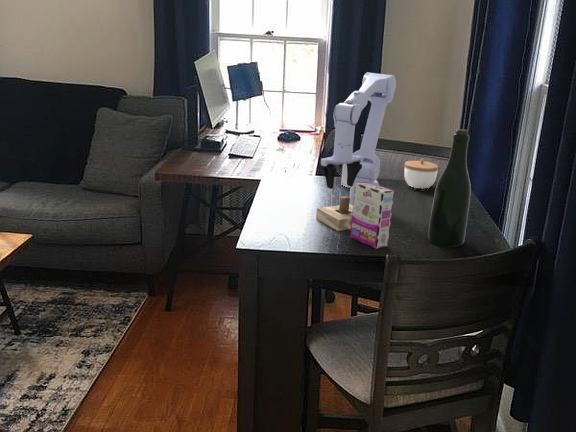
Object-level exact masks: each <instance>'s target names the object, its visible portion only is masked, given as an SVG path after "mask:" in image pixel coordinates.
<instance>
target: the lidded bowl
mask: <svg viewBox="0 0 576 432" xmlns="http://www.w3.org/2000/svg"><path fill="white" fill-rule="evenodd" d="M439 167H440V166H439V165H438V164H436V163H434V162H432V161H431V162H430V161H425V159H424V158H420V160H408V161H407V160H406V161H405V162H404V170H403V171H404V174H403V175H404V180H405V182H406V184H407V185H408V187H409V186H411V187H414V188H422V189H423V188H428V189H429V188H430V187H432V186H433V184H435V182H436V180H437V176H438V171H439Z"/></svg>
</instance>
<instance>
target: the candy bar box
mask: <svg viewBox="0 0 576 432" xmlns="http://www.w3.org/2000/svg"><path fill="white" fill-rule="evenodd" d="M394 196H395V190H393V189H390V188H387V187H385V186H380V185H379V186H378V185H375V184H372V183H369V182H361V183H355V192H354V201H353V211H352V221H351V229H350V233H349V238H350V239H353V240H355V241H357V242H360V243H362V244H364V245H367V246H369V247H371V248H373V249H375V250H376V249H377V250H378V249H382V248H383V249H384V248H386V247H389V246H388V245H389V239H390V231H391V221H392V215H393V206H394V199H395V198H394Z"/></svg>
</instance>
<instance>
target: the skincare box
mask: <svg viewBox="0 0 576 432" xmlns="http://www.w3.org/2000/svg"><path fill="white" fill-rule="evenodd" d="M353 153H354V152H352V154H353ZM341 170H342V172H341V179H340V180H341V181H340V185H341V186H342V185H343V186H342V187H344V186H345V188H346V187H347V188H348V189H349V188H351V186H348V185H347V164H342V169H341ZM347 188H346V189H347Z"/></svg>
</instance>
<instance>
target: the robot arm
mask: <svg viewBox="0 0 576 432" xmlns="http://www.w3.org/2000/svg"><path fill="white" fill-rule="evenodd" d="M396 88H397V80H396V77H395V75H394V74H384V73H376V72H370V71H369V72H368V71H367V72H366V73H364V75H363V78H362V83H361V86H360V88H359V90H354V91H353V92H351V94H350V95H349V96H348V97H347V98H346V99H345V101H343V102H339V103H338V104H336V105H335V106H334V110H333V114H332V116H333V117H332V118H333V121H334V124H333V126H334V128H335V132H334V133H335V134H334V143H333V154H332V156H328V157H324V158H320V165H321V169H322V171H323V174H324V177H325V182H326V188H328V189H331V190H332V189H333V188H334V185H335V184H334V183H335V177H336V173H337V170H338V168H336V167H335V166H336V165H343V164H347V185H348V186H351V187H350V190H349V197H350V204H349V205H351V206H353V201H354V192H355V183H361V182H369V183H372V184H375V185H378V186H380V184H379V182H378V180H377V179H378V178H379V176H380V173H381V172H380V171H381V159H380V157H379V156H378V155H377V154H376V153H375V152H376V148H377V145H378V141H379V140H378V139H379V136H380V132H381V129H382V124H383V120H384V116H385V112H386V111H387V110H386V109H387V105H388V104H390V103H392V101H393V100H394V96H395V91H396ZM368 101H369V102H370V103H371V105H370V109H369V113H368V116H367V117H368V118H367V120H366V125H365V129H364V133H363V136H362V139H361V140H362V141H361V144H360V149H358V150H356V151H355V152H354V141H355V140H354V139H355V132H356V131H355V129H356V124H357V123H358V121H359V119H360V116H361V113H362V111H363V110H364V108H365V107H366V106H367V105H368ZM352 153H353V154H352ZM334 165H335V166H334Z"/></svg>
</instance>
